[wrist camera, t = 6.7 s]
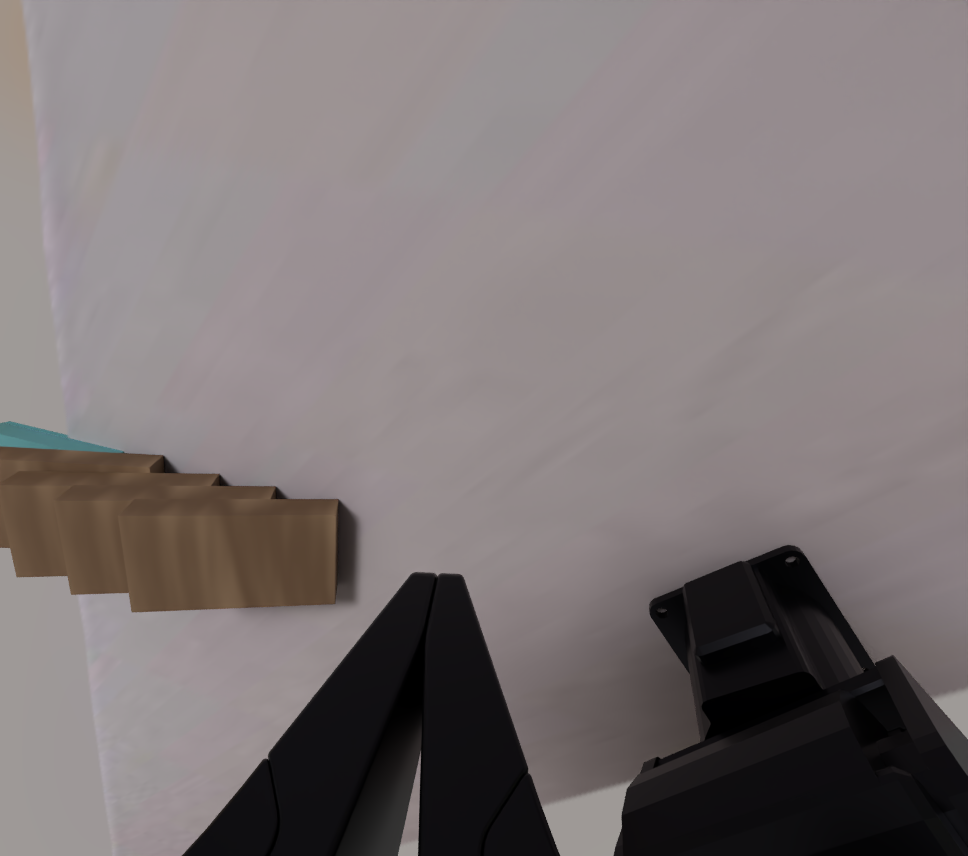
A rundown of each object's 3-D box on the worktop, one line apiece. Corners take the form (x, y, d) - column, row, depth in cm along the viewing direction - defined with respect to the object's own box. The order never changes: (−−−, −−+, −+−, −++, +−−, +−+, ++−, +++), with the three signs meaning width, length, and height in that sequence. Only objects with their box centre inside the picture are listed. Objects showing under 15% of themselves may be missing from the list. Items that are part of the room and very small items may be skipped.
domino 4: (149, 467, 26) (-57, 456, 24) (157, 551, 27) (-37, 546, 26) (163, 455, 27) (-31, 444, 26) (169, 535, 29) (-12, 530, 27)
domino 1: (335, 515, 23) (117, 516, 21) (334, 603, 25) (131, 612, 23) (338, 499, 25) (134, 498, 23) (337, 584, 26) (146, 590, 25)
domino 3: (209, 487, 25) (-4, 485, 23) (216, 572, 27) (16, 577, 25) (219, 473, 27) (19, 470, 25) (224, 555, 28) (37, 558, 26)
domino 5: (102, 459, 27) (-23, 428, 29) (113, 540, 28) (-5, 506, 30) (129, 449, 28) (9, 421, 30) (138, 527, 30) (24, 495, 32)
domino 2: (269, 501, 24) (53, 500, 22) (272, 587, 26) (71, 594, 24) (275, 486, 26) (73, 485, 24) (278, 569, 27) (89, 574, 25)
